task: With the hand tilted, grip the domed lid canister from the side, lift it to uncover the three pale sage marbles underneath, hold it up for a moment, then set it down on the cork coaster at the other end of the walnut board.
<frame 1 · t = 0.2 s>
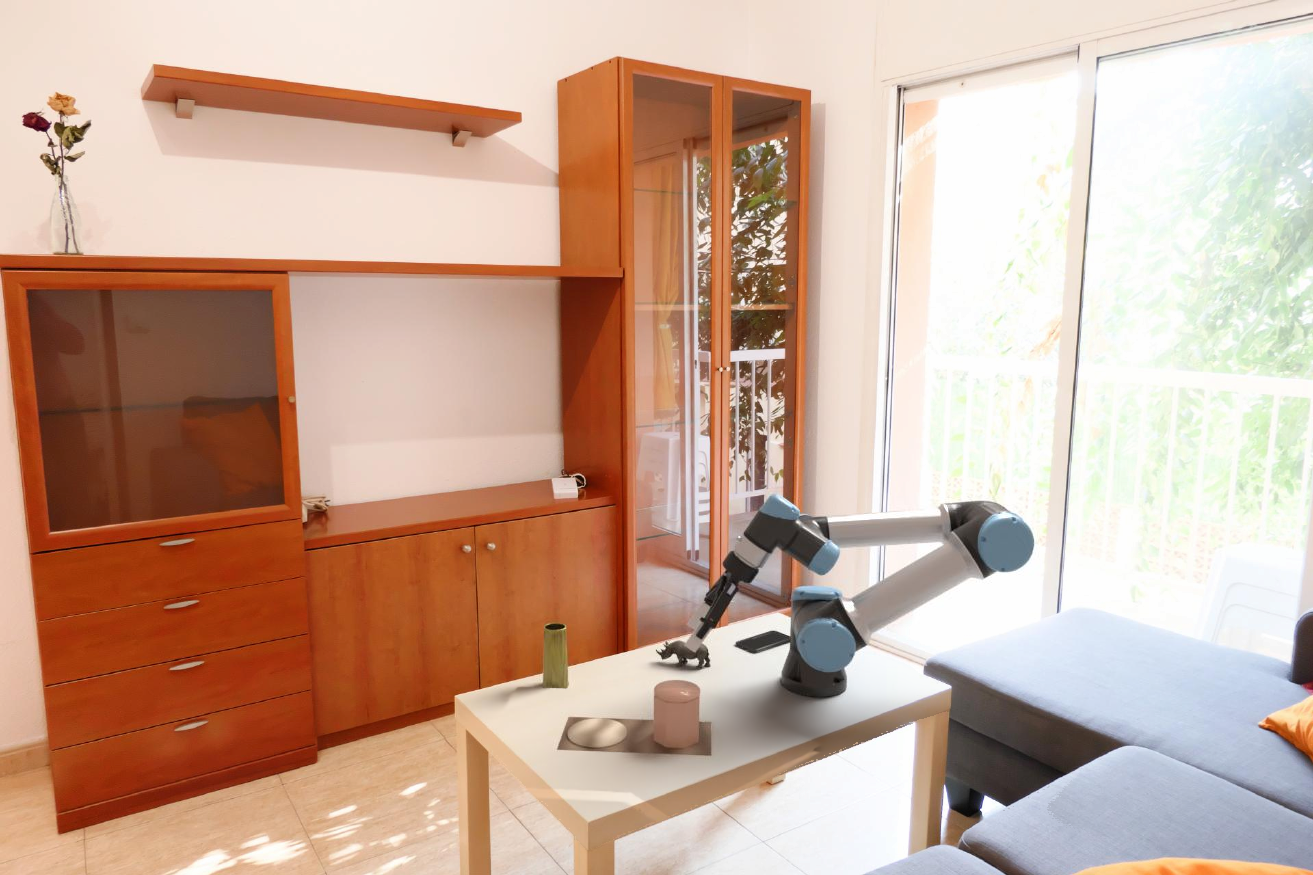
hand: (690, 637, 190), 16 cm above the table, tool tilted 35°, fingers open, 13 cm apart
marble b: (681, 733, 173), point 3 cm above the table, touching board
domed lid canister: (676, 736, 175), point 1 cm above the table, touching board
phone: (764, 644, 230), on the table
board: (636, 740, 176), on the table
coaster: (597, 733, 176), resting on board
marble a: (666, 729, 175), point 3 cm above the table, touching board
marble c: (681, 725, 177), point 3 cm above the table, touching board
vase: (555, 686, 202), on the table
rhino figurine: (682, 665, 215), on the table
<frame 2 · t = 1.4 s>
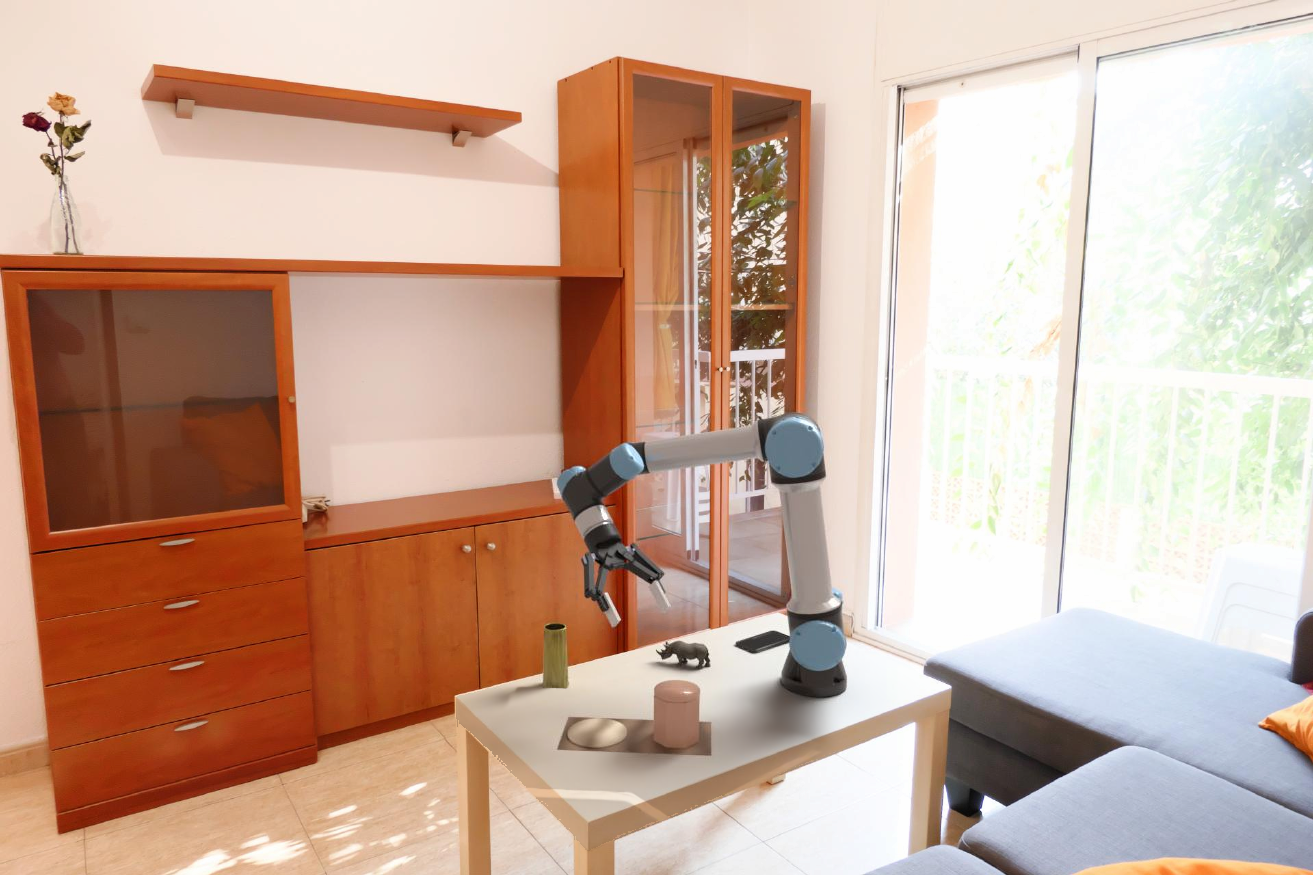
hand: (642, 616, 180), 23 cm above the table, tool tilted 45°, fingers open, 13 cm apart
nothing on the table moved.
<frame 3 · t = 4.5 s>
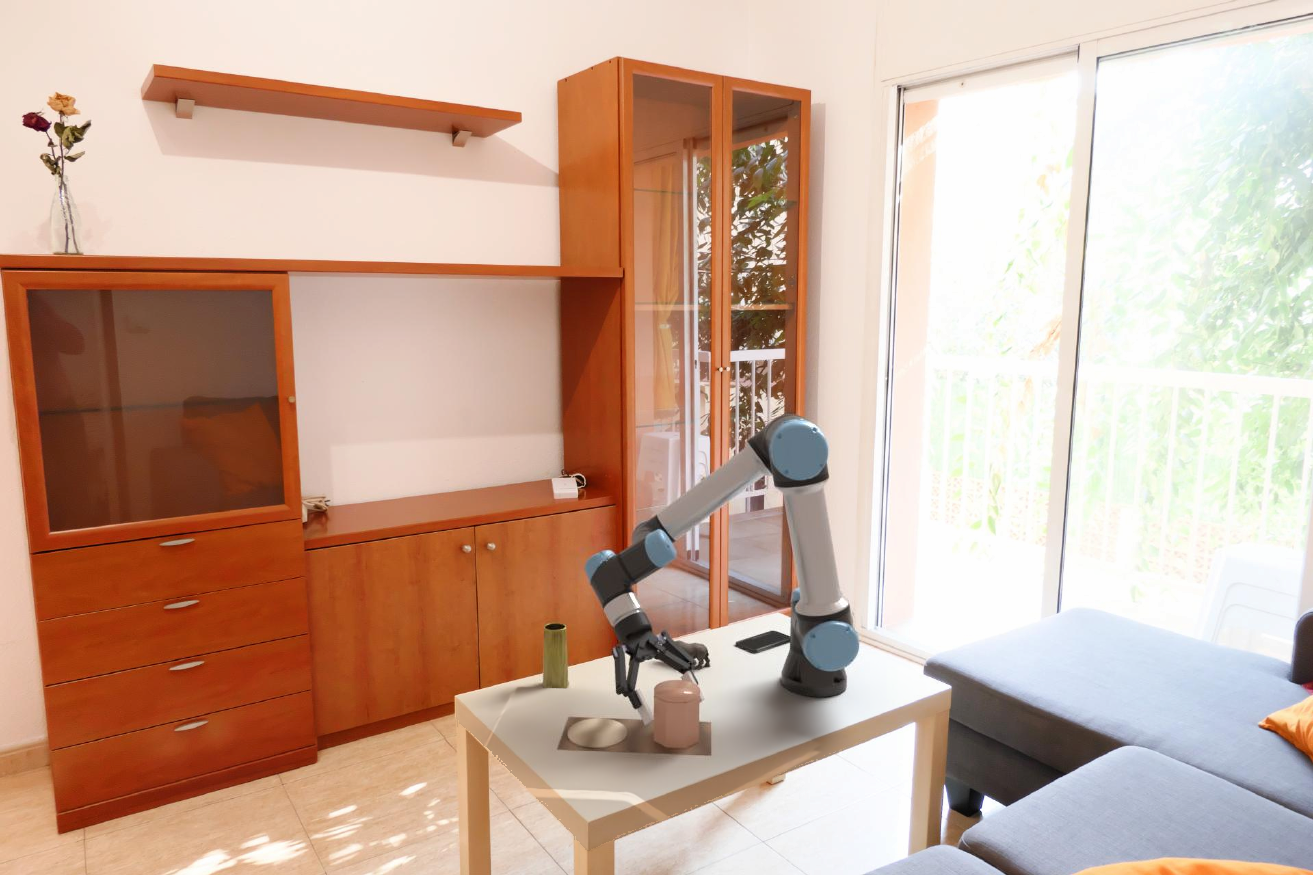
hand: (675, 712, 174), 7 cm above the table, tool tilted 45°, fingers open, 13 cm apart
nothing on the table moved.
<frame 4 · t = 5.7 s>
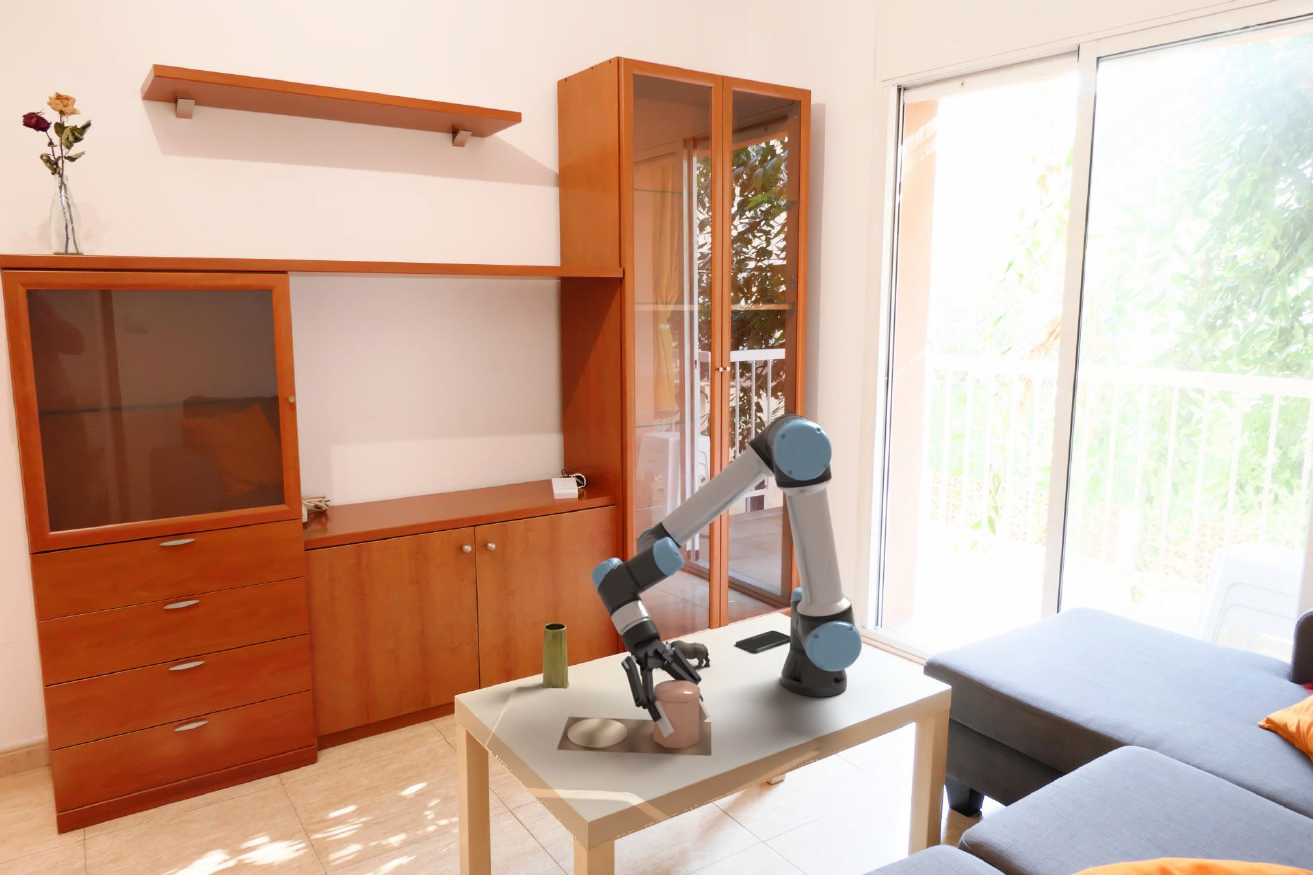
hand: (687, 726, 172), 4 cm above the table, tool tilted 45°, fingers closed on domed lid canister, 9 cm apart
domed lid canister: (676, 736, 175), point 1 cm above the table, touching board, gripper
everything else where it was.
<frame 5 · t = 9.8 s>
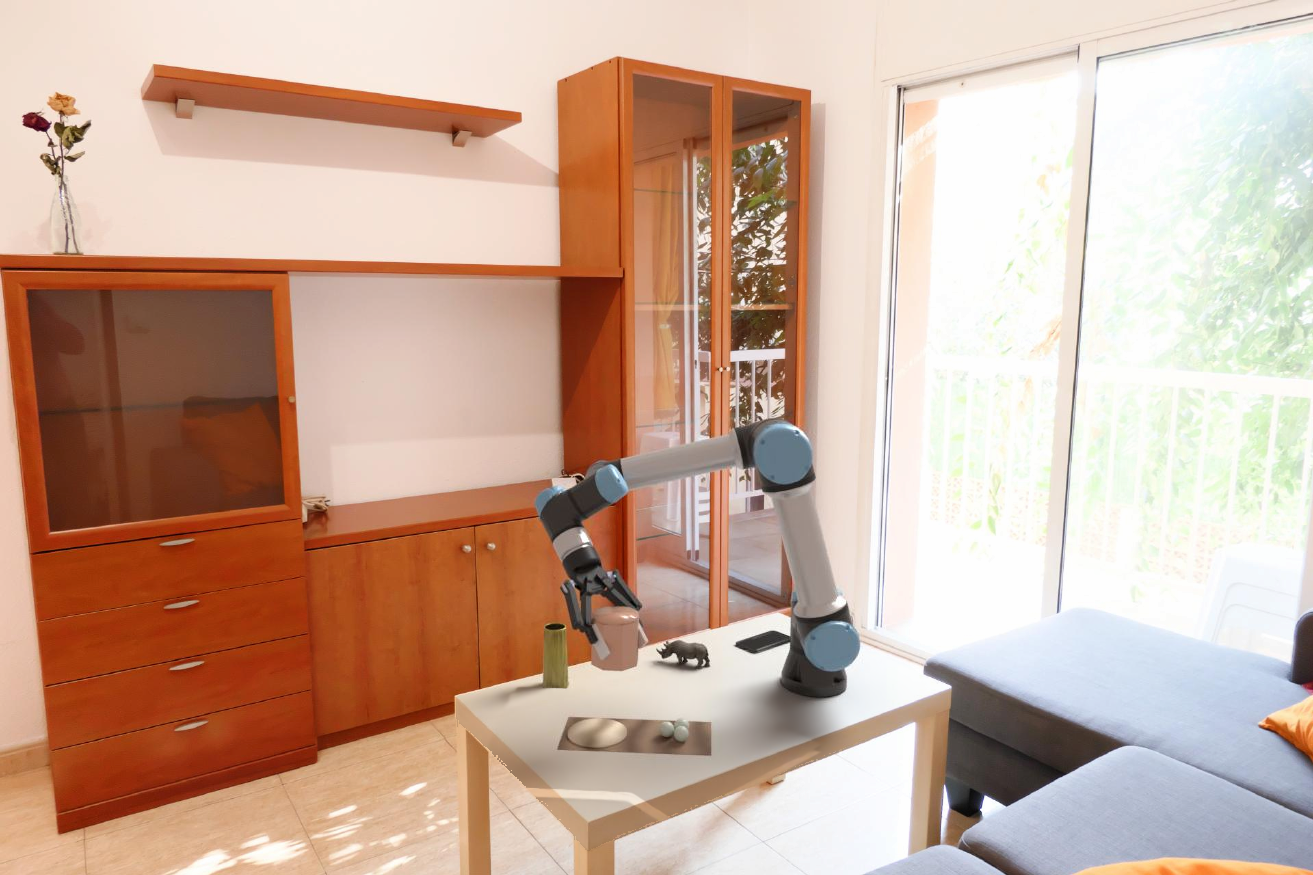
hand: (625, 650, 171), 20 cm above the table, tool tilted 45°, fingers closed on domed lid canister, 9 cm apart
domed lid canister: (614, 661, 174), point 17 cm above the table, touching gripper
everything else where it was.
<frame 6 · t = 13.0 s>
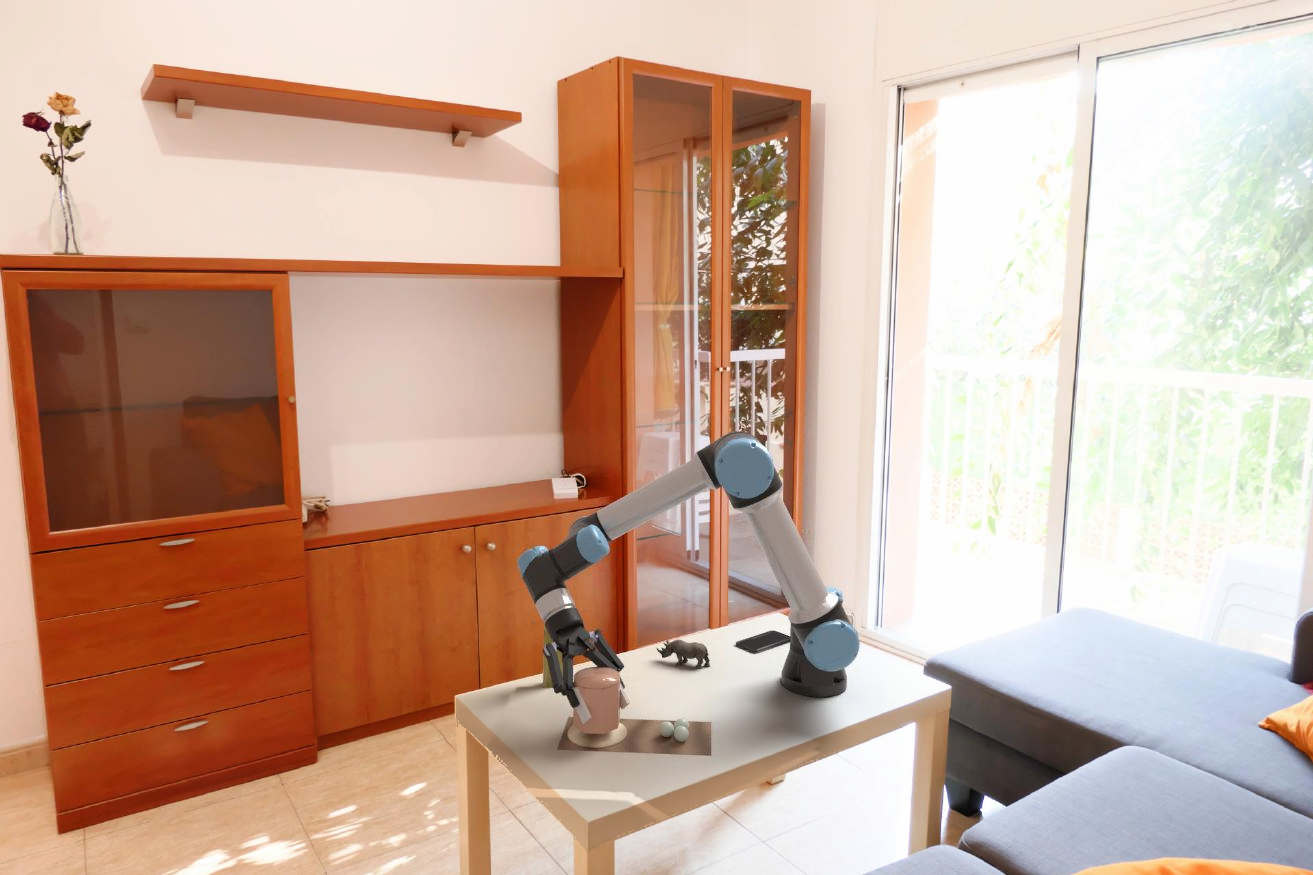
hand: (606, 713, 173), 7 cm above the table, tool tilted 45°, fingers closed on domed lid canister, 9 cm apart
domed lid canister: (596, 722, 176), point 3 cm above the table, touching gripper
everything else where it was.
when the fingers open (6 cm above the table, at t = 13.7 s): domed lid canister drops 1 cm, resting on coaster.
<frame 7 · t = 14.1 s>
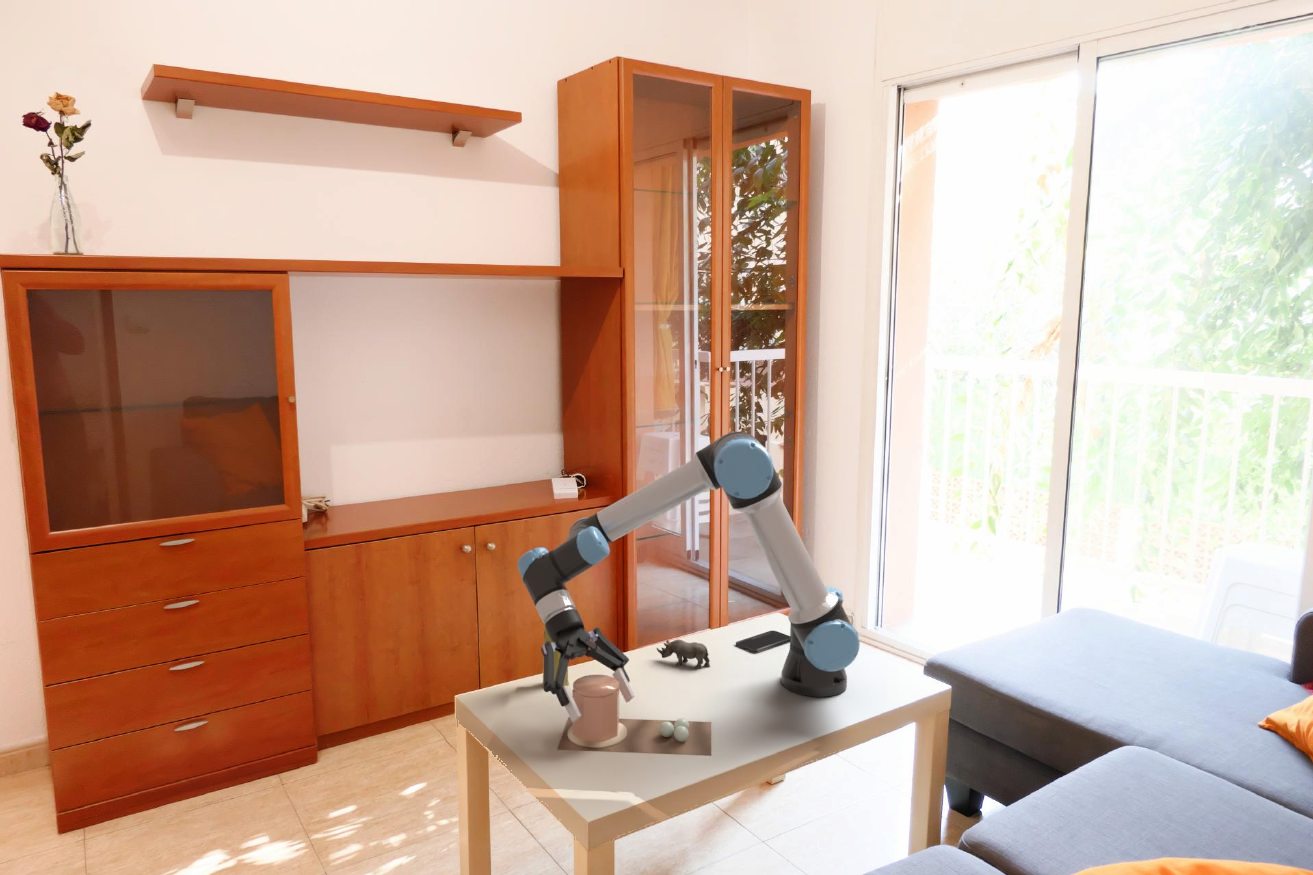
hand: (604, 709, 174), 7 cm above the table, tool tilted 45°, fingers open, 13 cm apart
domed lid canister: (596, 730, 177), point 2 cm above the table, touching coaster
everything else where it was.
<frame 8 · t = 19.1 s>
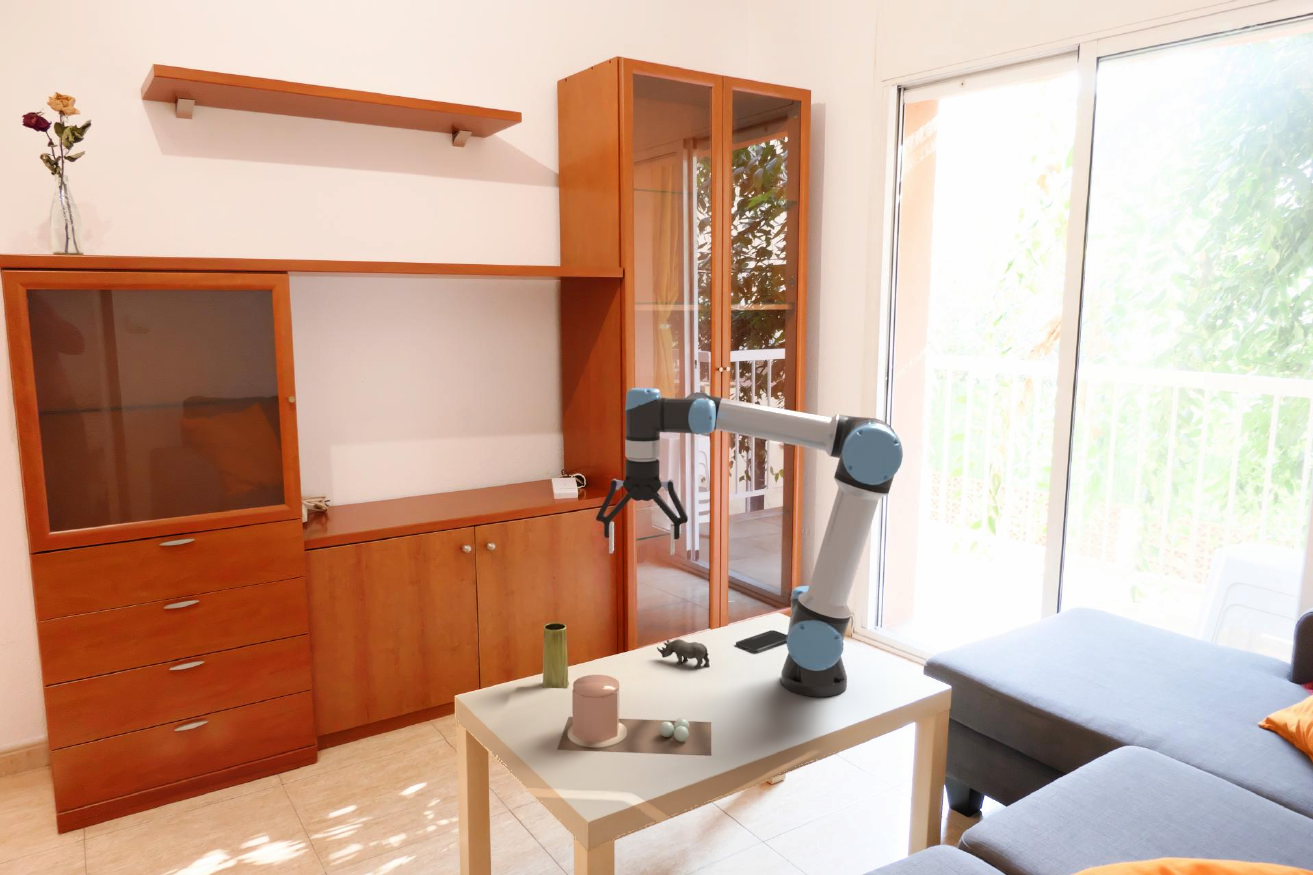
hand: (641, 552, 194), 33 cm above the table, tool pointing down, fingers open, 13 cm apart
nothing on the table moved.
at the end: domed lid canister 0.5 cm off-centre on the coaster, point 0.4 cm above the coaster's base; domed lid canister tilted 0°; the gripper is holding nothing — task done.
